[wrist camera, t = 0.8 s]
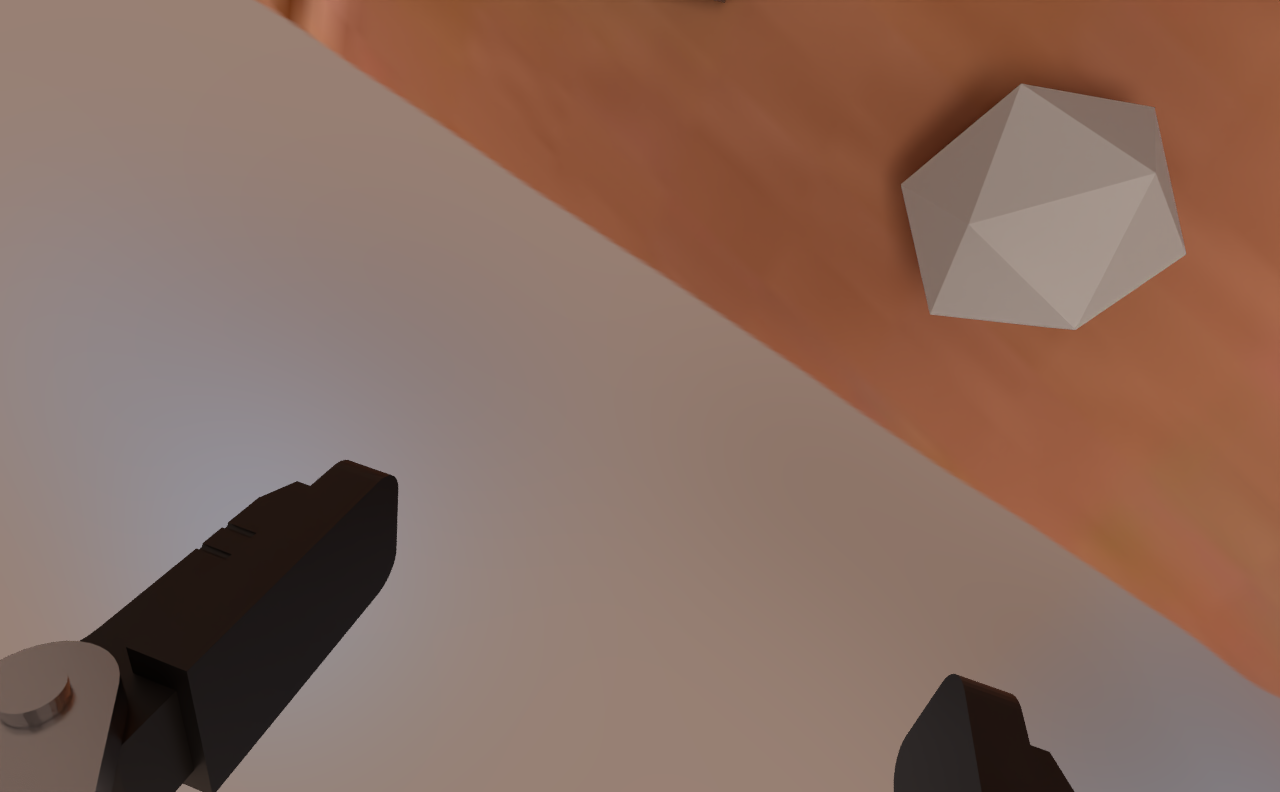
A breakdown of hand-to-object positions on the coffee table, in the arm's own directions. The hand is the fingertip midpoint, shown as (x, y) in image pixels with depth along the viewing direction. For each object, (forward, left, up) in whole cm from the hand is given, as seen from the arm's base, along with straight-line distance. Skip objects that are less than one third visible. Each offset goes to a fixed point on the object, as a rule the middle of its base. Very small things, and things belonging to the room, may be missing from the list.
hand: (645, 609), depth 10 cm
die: (-3, +9, -26) cm, 28 cm away
